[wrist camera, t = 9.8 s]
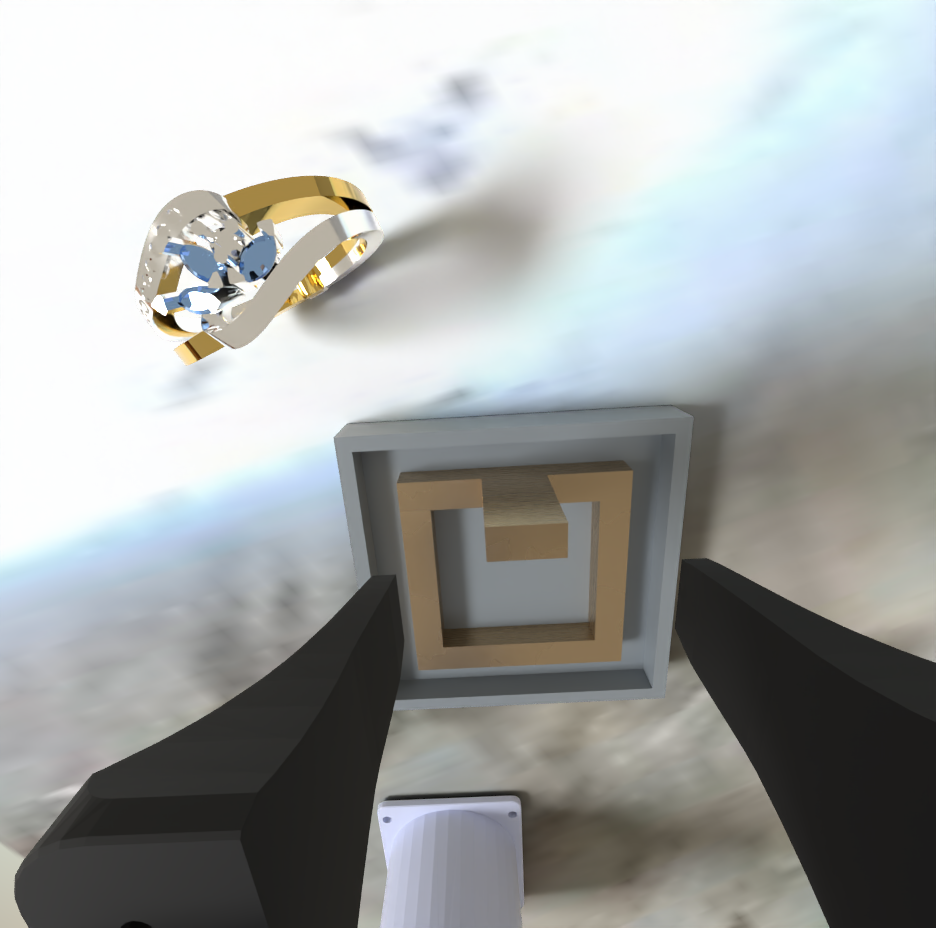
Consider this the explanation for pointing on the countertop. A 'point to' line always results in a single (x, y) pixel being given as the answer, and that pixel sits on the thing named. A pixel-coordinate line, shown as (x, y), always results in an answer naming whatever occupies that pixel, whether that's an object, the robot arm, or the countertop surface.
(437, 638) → the wooden frame with post
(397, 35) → the countertop surface
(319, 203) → the ring
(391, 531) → the tray
